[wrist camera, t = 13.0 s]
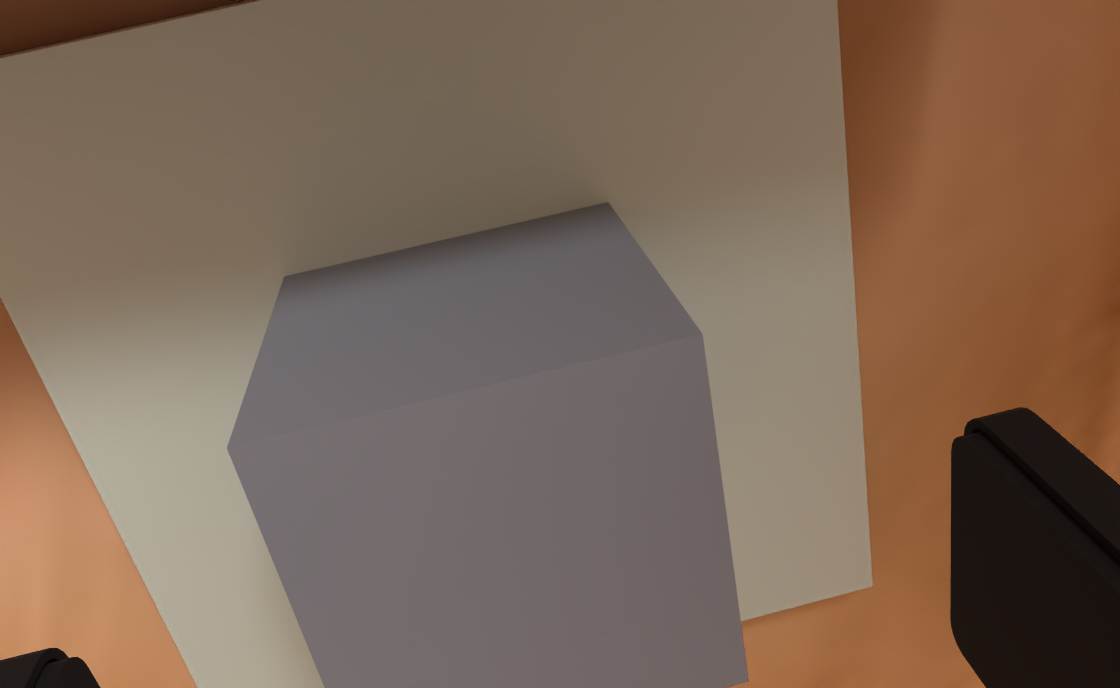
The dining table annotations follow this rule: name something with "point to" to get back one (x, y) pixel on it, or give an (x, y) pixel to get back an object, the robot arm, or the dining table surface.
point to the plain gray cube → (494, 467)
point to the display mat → (420, 218)
